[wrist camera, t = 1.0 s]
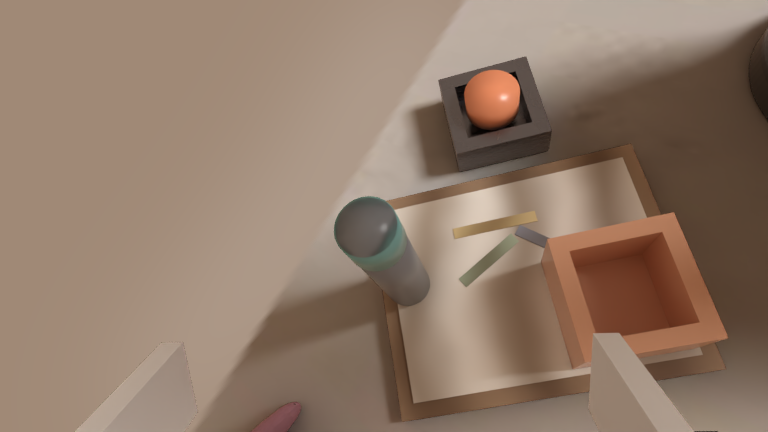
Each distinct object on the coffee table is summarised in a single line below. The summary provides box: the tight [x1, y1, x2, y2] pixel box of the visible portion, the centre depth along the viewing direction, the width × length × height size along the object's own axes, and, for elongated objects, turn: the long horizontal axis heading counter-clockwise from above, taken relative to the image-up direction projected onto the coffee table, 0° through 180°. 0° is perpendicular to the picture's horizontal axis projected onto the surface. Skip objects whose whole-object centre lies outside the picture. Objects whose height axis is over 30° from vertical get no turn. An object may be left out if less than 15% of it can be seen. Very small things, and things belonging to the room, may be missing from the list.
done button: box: [464, 70, 520, 130], centre depth 36 cm, size 4×4×2 cm
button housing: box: [439, 57, 552, 172], centre depth 38 cm, size 7×7×3 cm
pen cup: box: [541, 212, 728, 369], centre depth 29 cm, size 7×7×5 cm
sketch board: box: [382, 144, 726, 422], centre depth 33 cm, size 20×16×1 cm
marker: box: [334, 196, 430, 306], centre depth 29 cm, size 3×3×12 cm
